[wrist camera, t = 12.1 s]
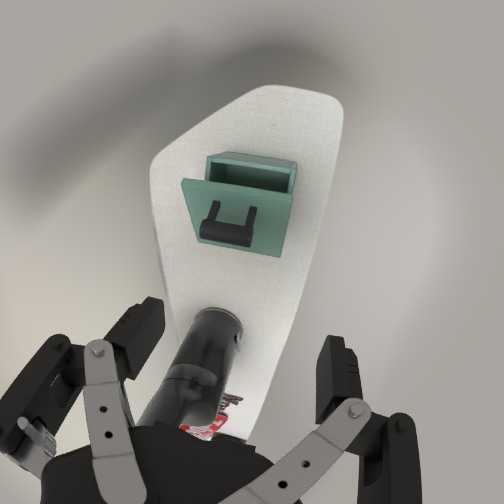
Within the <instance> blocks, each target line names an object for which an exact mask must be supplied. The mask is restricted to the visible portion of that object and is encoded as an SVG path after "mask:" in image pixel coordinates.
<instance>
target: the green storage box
mask: <svg viewBox="0 0 504 504" xmlns="http://www.w3.org/2000/svg"><path fill="white" fill-rule="evenodd" d="M296 167H297V163H296V162H291V161H286V160H280V159H274V158H268V157H261V156H255V155H248V154H241V153H233V152H223V153H219V154H215V155H211V156H208V157H207V162H206V172H205V181H210V182H218V183H225V184H231V185H238V186H244V187H250V188H257V189H262V190H268V191H274V192H280V193H285V194H290V195H292V192H293V187H294V181H295V175H296Z"/></svg>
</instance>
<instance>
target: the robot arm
mask: <svg viewBox="0 0 504 504" xmlns="http://www.w3.org/2000/svg"><path fill="white" fill-rule="evenodd" d="M164 330H165V314H164V302H163V301H162V300H160V299H156V298H153V297H147V298H146V299H145V300H144V302H143V303H142V304H135V305H134V306H132V307H130V308H128V310H127V311H126V312H125V313H124V314H123V316H122V317H121V318H120V319H119V321H118V322H117V323H116V324H115V325H114V326H113V327H112V329H111V330H110V331H109V332H108V333H107V335H106V336H105V337H104V339H102V340H99V339H98V340H93V341H91V342H89V343H88V344H87V345H86V346H82V345H75V344H71V342H70V340H69V338H68V337H67V336H65V335H63V334H56V335H53V336H51V337H49V338H48V339H47V340H46V342H45V343H44V344H43V345H42V346H41V348H40V349H39V350H38V351H37V353H36V354H35V355H34V356H33V357H32V358H31V360H30V361H29V362H28V363H27V365H26V366H25V367H24V369H23V370H22V371H21V372H20V374H19V375H18V376H17V378H16V379H15V380H14V381H13V383H12V384H11V386H10V387H9V388H8V390H7V391H6V392H5V394H4V395H3V397H2V398H1V400H0V452H1V453H2V454H4V455H5V456H6V457H7V458H9V459H10V460H11V461H12V462H14V463H15V464H17V465H19V466H20V467H21V468H23V469H24V470H26V471H29V472H31V473H32V474H33V475H35V476H36V477H38V478H39V479H40V480H41V492H42V493H41V502H40V504H303V503H302V502H301V500H300V499H299V498H300V497H301V496H302V495H303V494H304V493H305V492H307V490H309V489H310V487H312V486H313V485H314V484H315V483H316V482H317V481H318V480H319V479H320V478H321V477H322V476H323V475H324V474H325V473H326V471H327V470H328V469H329V468H330V467H331V466H332V465H333V464H334V463H335V462H336V461H337V460H338V458H339V457H340V456H341V455H342V454H343V452H344V451H347V452H350V453H353V454H356V455H359V481H358V498H357V504H422V486H421V470H420V459H419V450H418V442H417V434H416V427H415V423H414V421H413V419H412V418H411V417H410V416H409V415H407V414H405V413H395V414H393V415H391V416H390V418H389V417H385V416H382V415H379V414H376V413H374V412H372V411H371V409H370V407H369V405H368V404H367V403H366V402H364V401H363V395H362V387H361V380H360V375H359V368H358V361H357V356H356V355H355V353H354V352H353V350H352V349H349V348H345V343H344V338H343V337H340V336H333V335H328V336H327V337H326V340H325V342H324V345H323V347H322V350H321V352H320V355H319V357H318V360H317V367H316V422H315V424H321V425H320V426H319V427H318V428H317V429H316V430H315V431H312V432H311V433H310V434H309V435H308V436H306V437H305V438H304V439H303V440H302V441H301V442H300V443H299V444H298V445H297V446H296V447H294V448H293V449H292V450H291V451H290V452H289V453H288V454H286V455H285V456H284V457H283V458H282V459H280V460H279V461H278V462H277V463H276V464H273V463H272V462H271V461H270V460H268V459H267V458H265V457H264V456H262V455H260V454H258V453H256V452H255V448H256V446H252V445H246V444H241V443H236V442H232V441H205V440H201V439H199V438H197V437H195V436H193V435H191V434H190V433H188V432H186V431H184V430H183V429H181V428H179V427H180V425H181V424H183V425H187V426H193V427H202V426H207V425H210V424H211V423H213V422H214V421H215V419H216V417H217V414H218V411H219V407H220V404H221V401H222V398H223V394H224V391H225V387H226V384H227V381H228V378H229V374H230V371H231V368H232V365H233V361H234V358H235V355H236V351H237V348H238V352H239V350H240V339H241V337H242V326H241V324H240V322H239V320H238V319H237V318H236V317H235V316H234V315H232V314H231V313H229V312H227V311H225V310H222V309H218V308H208V309H204V310H202V311H201V312H199V313H198V314H197V316H196V318H195V320H194V323H193V324H192V326H191V328H190V330H189V332H188V334H187V336H186V337H185V339H184V341H183V343H182V345H181V347H180V349H179V351H178V353H177V355H176V357H175V358H174V360H173V362H172V364H171V366H170V368H169V370H168V372H167V374H166V376H165V378H164V380H163V382H162V384H161V385H160V387H159V389H158V391H157V392H156V394H155V395H154V396H153V397H152V399H151V400H150V402H149V403H148V405H147V407H146V408H145V410H144V412H143V414H142V416H141V417H140V419H139V421H138V422H137V424H136V426H135V423H134V420H133V417H132V414H131V411H130V407H129V403H128V399H127V394H126V390H125V385H124V381H125V380H126V378H129V379H131V380H135V379H136V377H137V375H138V374H139V372H140V371H141V369H142V367H143V366H144V364H145V362H146V361H147V359H148V358H149V356H150V354H151V353H152V351H153V349H154V348H155V346H156V344H157V343H158V341H159V340H160V338H161V337H162V335H163V333H164ZM56 377H57V378H56ZM55 378H56V379H55ZM54 380H55V381H54ZM53 381H54V382H53ZM51 384H52V385H51ZM82 389H83V396H84V405H85V413H86V420H87V426H88V433H89V438H90V443H91V444H89V445H87V446H84V447H81V448H79V449H76V450H73V451H71V452H68V453H65V454H62V455H59V456H56V457H54V455H55V454H56V441H55V438H54V437H55V435H56V433H57V431H58V430H59V427H60V426H61V424H62V423H63V421H64V419H65V417H66V416H67V414H68V412H69V411H70V409H71V407H72V406H73V404H74V402H75V401H76V399H77V397H78V395H79V394H80V392H81V391H82Z"/></svg>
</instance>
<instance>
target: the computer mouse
mask: <svg viewBox="0 0 504 504" xmlns="http://www.w3.org/2000/svg"><path fill="white" fill-rule="evenodd" d="M211 441H232V442H236V443H241V444H243V443H242V442H241V441H239V440H238V439H236V438H233V437H230V436H217V437H213V438H212V439H211Z"/></svg>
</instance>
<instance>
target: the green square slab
mask: <svg viewBox="0 0 504 504" xmlns="http://www.w3.org/2000/svg"><path fill="white" fill-rule="evenodd" d="M181 187H182V190H183V194H184V197H185V201H186V204H187V208H188V211H189V214H190V217H191V221H192V224H193V227H194V231H195V234H196V237H197V240H198V242H201V243H206V244H211V245H216V246H222V247H227V248H232V249H237V250H242V251H248V252H253V253H258V254H263V255H268V256H274V257H279V258H280V256H281V252H282V247H283V243H284V238H285V234H286V229H287V224H288V219H289V215H290V210H291V205H292V200H293V195H290V194H285V193H280V192H274V191H268V190H262V189H257V188H250V187H244V186H238V185H231V184H225V183H218V182H210V181H203V180H195V179H187V178H183V180H182V182H181Z"/></svg>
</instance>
